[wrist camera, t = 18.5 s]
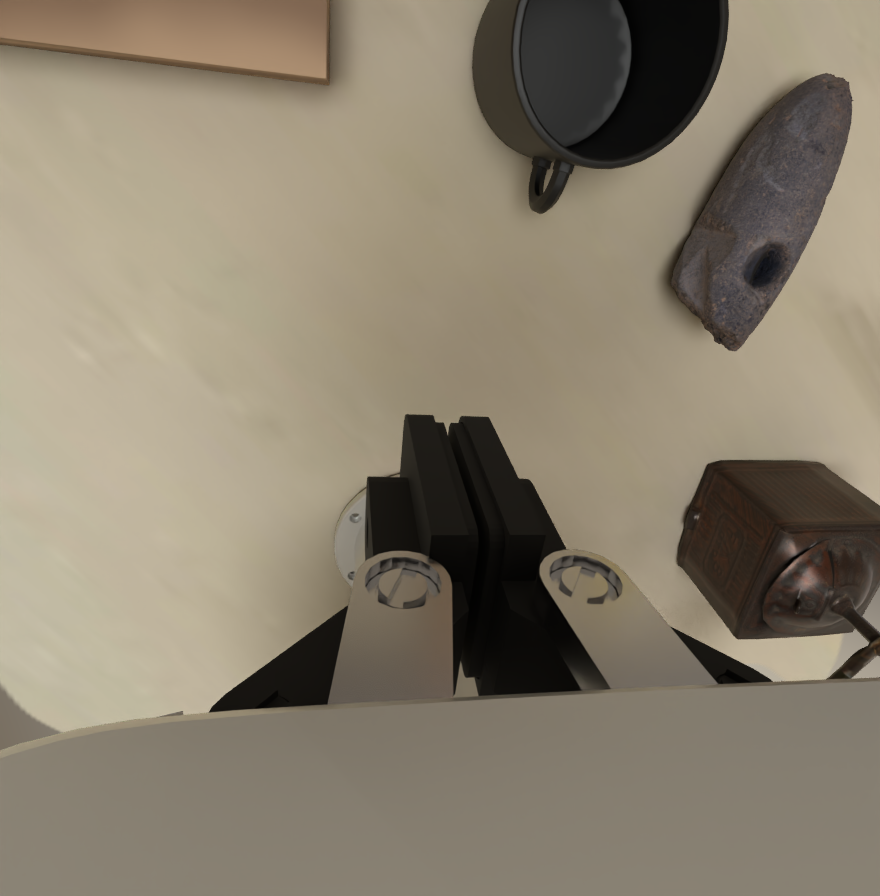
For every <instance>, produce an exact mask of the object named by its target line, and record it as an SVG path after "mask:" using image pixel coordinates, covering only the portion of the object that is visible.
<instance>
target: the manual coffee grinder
mask: <svg viewBox="0 0 880 896" xmlns="http://www.w3.org/2000/svg"><path fill="white" fill-rule="evenodd" d="M677 564H678V566H680V567H681V568H683V569H684V571H685V572H686V573H687V575H688V576H689V577H690V578H691V580H692V581H693V582H694V584H695V585H696V586H697V588H698V589H699V590H700V592H701V593H702V594H703V595H704V597H705V598H706V599H707V601H708V602H709V603H710V605H711V606H712V607H713V609H714V610H715V611H716V613H717V614H718V615H719V616H720V618H721V619H722V620H723V622H724V623H725V624H726V626H727V627H728V628H729V630H730V631H731V633H732V634H733V636H735V637H736V638H737V639H766V638H787V637H805V636H820V635H830V634H840V633H849V632H853V630H854V629H856V630H857V631H858V632H859V633H860V634H861V635H862V636H863V637H864V638H865V639H866V640H867V641H868V642H869V645H868V646H866V647H864V648H862V649H860V650H858V651H857V652H856V653H854V654H853V655H852V656H851V657H850V658H849V659H848V660H847V661H846V662H845V663H844V664H843V665H842V666H841V667H840V668H839V669H838V670H837V671H835V672H834V673H833V674H832V675H831V676H830V677H829V678H827V679H826V680H829V679H851V678H852V677H853V676H854V675H856V674H857V673H858V672H859V671H860V670H861V669H862V668H863V667H865V666H866V665H867V664H868V663H869V662H870V661H871V660H873V659H874V658H875V657H876V656H880V632H879V631H877V630H876V629H875V628H874V627H873V626H872V625H871V624H870V623H869V622H868V621H866V620H865V619H864V618H863V617H862V615H863V614H864V612H865V610H866V609H867V607H868V605H869V603H870V602H871V600H872V598H873V596H874V595H875V593H876V591H877V589H878V588H879V586H880V506H879V505H878V504H877V503H875V502H874V501H872V500H871V499H870V498H868V497H867V496H866V495H864V494H863V493H861V492H860V491H859V490H857V489H856V488H854V487H853V486H852V485H850V484H849V483H847V482H846V481H845V480H843V479H842V478H840V477H839V476H838V475H836V474H835V473H833V472H832V471H831V470H829V469H828V468H826V466H825V465H824V464H821V463H816V462H806V461H757V460H734V461H718V462H714V463H711V464H708V466H707V469H706V471H705V474H704V476H703V478H702V481H701V483H700V486H699V488H698V491H697V493H696V495H695V498H694V500H693V502H692V505H691V507H690V509H689V512H688V514H687V517H686V521H685V528H684V531H683V535H682V538H681V542H680V545H679V552H678V561H677Z"/></svg>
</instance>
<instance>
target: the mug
mask: <svg viewBox="0 0 880 896" xmlns="http://www.w3.org/2000/svg"><path fill="white" fill-rule="evenodd" d="M728 20H729V9H728V0H490V1H489V3H488V5H487V7H486V9H485V11H484V13H483V16H482V18H481V21H480V24H479V27H478V30H477V33H476V38H475V44H474V50H473V67H472V69H473V80H474V87H475V92H476V96H477V100H478V103H479V105H480V108H481V111H482V113H483V115H484V117H485V119H486V121H487V122H488V124H489V126H490V127H491V129H492V130H493V131H494V132H495V134H496V135H497V136H498V137H499V138H500V139H501V140H502V141H503V142H504V143H505V144H506V145H507V146H509V147H510V148H512V149H514V150H515V151H517V152H519V153H521V154H523V155H526V156H528V157H531V158H533V161H532V165H533V168H532V172H531V177H530V182H529V205H530V207H531V209H532V210H533V211H535V212H537V213H539V214H542V213H545V212H546V211H548V210H549V209H550V208H551V207H553V205H554V204H555V203H556V202H557V200H558V199H559V197H560V195H561V194H562V192H563V190H564V188H565V185H566V183H567V180H568V178H569V175H570V174H572V171H573V168H574V165H576V166H582V167H588V168H595V169H613V168H620V167H625V166H629V165H632V164H635V163H638V162H641V161H643V160H645V159H647V158H648V157H650V156H652V155H654V154H656V153H657V152H659V151H660V150H662V149H663V148H664V147H666V146H667V145H668V144H670V143H671V142H672V141H673V140H674V139H675V138H676V137H677V136H679V135H680V134H681V133H682V132H683V131H684V129H685V128H686V127H687V126H688V125H689V124H690V122H691V121H692V120H693V119H694V117H695V116H696V115H697V113H698V112H699V110H700V109H701V107H702V105H703V104H704V102H705V100H706V99H707V97H708V95H709V93H710V91H711V89H712V87H713V84H714V82H715V80H716V78H717V75H718V72H719V69H720V66H721V63H722V59H723V55H724V50H725V46H726V41H727V32H728ZM552 161H553V162H555V163H554V166H553V169H554V171H553V174H552V176H551V179H550V181H549V184H548V186H547V188H546V190H545V191H544V193H543V186H544V180H545V175H546V171H547V169H550V166H551V163H552Z"/></svg>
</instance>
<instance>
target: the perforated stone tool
mask: <svg viewBox="0 0 880 896" xmlns="http://www.w3.org/2000/svg"><path fill="white" fill-rule="evenodd" d="M852 101H853V100H852V97H851V93H850V89H849V82H847V81H845V79H843V78H839V77H838V78H837V77H835V76H834V75H832V74H828V73H825V74H821V75H818V76H815V77H813V78H811V79H809V80H807V81H805V82H803V83H801V84H800V85H798V86H797V87H796V88H794V89H793V90H792V91H791V92H789V93H788V94H787V95H786V96H785V97H783V98H782V99H781V100H780V101H779V102H778V103H777V104H776V105H775V106H774V107H773V108H772V109H771V110H770V111H769V112H768V113H767V114H766V115H765V116H764V117H763V118H762V119H761V121H760V122H759V123H758V124H757V125H756V126H755V128H754V129H753V130H752V131H751V133H750V134H749V135H748V137H747V138H746V140H745V141H744V142H743V144H742V145H741V147H740V148H739V150H738V152H737V153H736V155H735V156H734V158H733V159H732V161H731V163H730V164H729V166H728V168H727V169H726V171H725V173H724V175H723V176H722V178H721V180H720V181H719V183H718V185H717V187H716V188H715V190H714V192H713V194H712V195H711V197H710V199H709V201H708V203H707V204H706V206H705V208H704V210H703V212H702V214H701V215H700V217H699V219H698V220H697V222H696V224H695V226H694V228H693V230H692V232H691V235H690V237H689V238H688V239H687V241H686V243H685V245H684V248H683V251H682V253H681V255H680V257H679V259H678V262H677V264H676V266H675V269H674V271H673V276H672V278H671V285H672V286H673V288H674V289H675V290H676V293H677V296H678V298H679V299H681V301H682V302H683V303H684V304H685V305H686V306H687V307H688V308H689V309H690V310H691V312H692V313H693V314H695V315H696V316H698V317H699V318H700V319H701V320H702V321H701V322H702V324H703V325H704V328H705V329H706V330H708V331H709V332H710V333H711V334H712V335H713V336H714V341H715V342H717V343H718V344H720V343H721V344H722V345H724V346H725V348H727V349H728V350H730V351H737V350H738V349H739V348H740V347H741V346H742V345H743V344H744V342H745V341H746V340H747V338H748V337H749V335H750V334H751V333H752V332H753V331H754V330H755V328H756V327H757V326H758V324H759V323H760V322H761V320H762V319H763V317H764V316H765V314H766V313H767V311H768V310H769V308H770V307H771V306H772V304H773V302H774V301H775V299H776V298H777V296H778V295H779V293H780V292H781V290H782V288H783V287H784V285H785V284H786V282H787V280H788V279H789V277H790V275H791V274H792V272H793V270H794V268H795V266H796V264H797V263H798V261H799V259H800V256H801V254H802V253H803V251H804V249H805V247H806V245H807V243H808V241H809V239H810V237H811V235H812V233H813V231H814V228H815V226H816V225H817V222H818V220H819V217H820V215H821V212H822V210H823V207H824V204H825V200H826V197H827V195H828V194H829V192H830V190H831V188H832V185H833V182H834V179H835V177H836V174H837V172H838V168H839V166H840V163H841V159H842V156H843V153H844V150H845V146H846V143H847V139H848V134H849V130H850V125H851V118H852V117H851V116H852Z"/></svg>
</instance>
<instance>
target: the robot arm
mask: <svg viewBox="0 0 880 896" xmlns="http://www.w3.org/2000/svg"><path fill="white" fill-rule="evenodd" d="M334 555H335V560H336V564H337V567H338V569H339V571H340V573H341V575H342V577H343V578H344V579H345V580H346V582H347V583H348V584H349V585H350V586H351V587H352V591H351V596H350V600H349V605H348V606H346V607H345V608H344V609H342V610H341V611H339V612H338V613H337V614H335V615H334V616H332V617H331V618H330V619H328V620H327V621H326V622H324V623H323V624H321V625H320V626H319V627H317V628H316V629H315V630H313V631H312V632H310V633H309V634H308V635H306V636H305V637H304V638H302V639H301V640H299V641H298V642H297V643H295V644H294V645H293V646H291V647H290V648H288V649H287V650H286V651H284V652H283V653H281V654H280V655H279V656H277V657H276V658H275V659H273V660H272V661H270V662H269V663H268V664H266V665H265V666H264V667H262V668H261V669H259V670H258V671H257V672H255V673H254V674H253V675H251V676H250V677H248V678H247V679H246V680H244V681H243V682H242V683H240V684H239V685H237V686H236V687H235V688H233V689H232V690H230V691H229V692H228V693H226V694H225V695H224V696H223V697H222V698H221V699H220V700H219V701H218V702H217V703H216V704H215V705H213V706H212V708H211V710H210V711H209V713H200V714H189V715H183V711H181V712H177V713H172V714H168V715H164V716H160V717H156V718H145V719H134V720H128V721H122V722H116V723H110V724H104V725H98V726H92V727H86V728H80V729H76V730H72V731H68V732H64V733H60V734H56V735H52V736H48V737H44V738H40V739H37V740H32V741H28V742H25V743H21V744H17V745H15V746H12V747H9V748H6V749H4V750H1V751H0V896H880V677H879V678H859V679H829V680H804V681H781V682H773V681H771V680H770V679H769V678H767V677H766V676H764V675H763V674H761V673H759V672H758V671H756V670H754V669H753V668H751V667H749V666H747V665H745V664H743V663H741V662H739V661H737V660H735V659H733V658H731V657H729V656H727V655H725V654H723V653H721V652H719V651H717V650H715V649H713V648H711V647H709V646H708V645H706V644H704V643H702V642H700V641H698V640H696V639H694V638H692V637H690V636H688V635H686V634H684V633H682V632H680V631H678V630H676V629H674V628H672V627H670V626H669V625H668V624H667V622H666V621H665V620H664V619H663V618H662V616H661V615H660V614H659V613H658V612H657V610H656V609H655V608H654V607H653V606H652V604H651V603H650V602H649V601H648V600H647V598H646V597H645V596H644V595H643V594H642V592H641V591H640V590H639V589H638V588H637V586H636V585H635V584H634V583H633V582H632V580H631V579H630V578H629V577H628V576H627V574H626V573H625V572H624V571H623V570H621V569H620V568H619V567H618V566H617V565H616V564H614V563H613V562H611V561H609V560H608V559H606V558H604V557H602V556H599V555H597V554H594V553H591V552H587V551H581V550H567V549H566V547H565V545H564V544H563V542H562V540H561V538H560V536H559V534H558V532H557V530H556V528H555V526H554V524H553V522H552V520H551V518H550V516H549V515H548V513H547V511H546V509H545V507H544V505H543V503H542V501H541V499H540V497H539V495H538V493H537V491H536V489H535V487H534V486H533V484H532V482H531V481H530V480H529V479H519V478H518V476H517V474H516V472H515V470H514V468H513V466H512V464H511V462H510V460H509V458H508V456H507V454H506V452H505V449H504V447H503V445H502V443H501V441H500V439H499V437H498V435H497V433H496V431H495V429H494V427H493V425H492V423H491V421H490V419H489V417H471V416H461V417H460V420H459V423H451V424H450V426H449V432H448V435H447V432H446V429H445V426H444V423H438V422H435V419H434V416H433V415H409V414H406V415H405V420H404V429H403V442H402V455H401V467H400V474H398V475H395V476H391V477H368V478H367V488H366V489H364V490H363V491H362V492H360V493H359V494H358V495H357V496H356V497H355V498H354V499H353V500H352V501H351V502H350V503H349V504H348V505H347V507H346V508H345V510H344V511H343V513H342V514H341V516H340V518H339V521H338V524H337V526H336V530H335V537H334Z"/></svg>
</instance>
